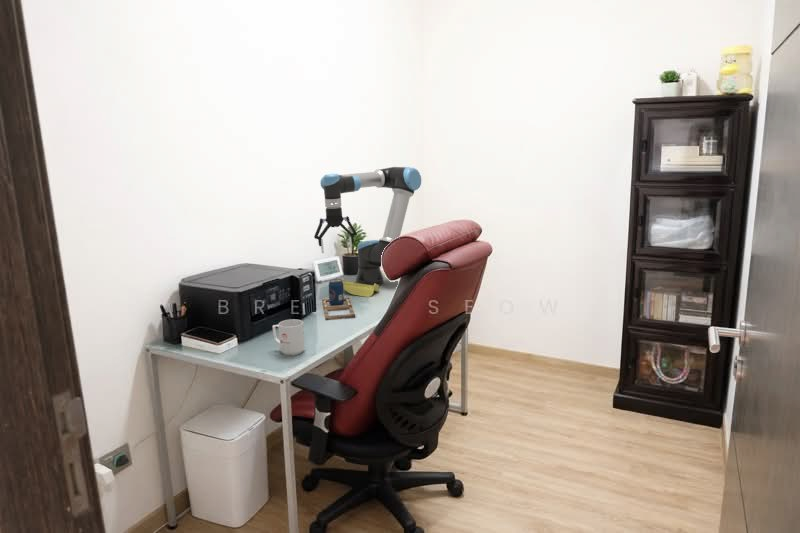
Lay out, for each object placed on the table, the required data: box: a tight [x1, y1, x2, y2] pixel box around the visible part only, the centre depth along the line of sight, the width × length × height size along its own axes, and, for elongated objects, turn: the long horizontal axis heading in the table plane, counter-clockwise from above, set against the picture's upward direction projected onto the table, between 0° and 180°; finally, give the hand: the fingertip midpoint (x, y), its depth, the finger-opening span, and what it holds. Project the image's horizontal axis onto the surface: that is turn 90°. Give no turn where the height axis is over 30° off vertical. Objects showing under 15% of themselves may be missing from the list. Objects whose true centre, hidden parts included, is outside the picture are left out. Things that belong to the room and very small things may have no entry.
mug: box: [271, 318, 306, 356], centre depth 203 cm, size 12×9×11 cm
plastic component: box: [340, 278, 380, 298], centre depth 281 cm, size 20×7×10 cm
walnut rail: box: [321, 297, 356, 321], centre depth 254 cm, size 29×13×1 cm, turn 11°
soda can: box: [328, 278, 345, 306], centre depth 260 cm, size 7×7×12 cm
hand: (336, 251), depth 265 cm, fingers open, 13 cm apart
